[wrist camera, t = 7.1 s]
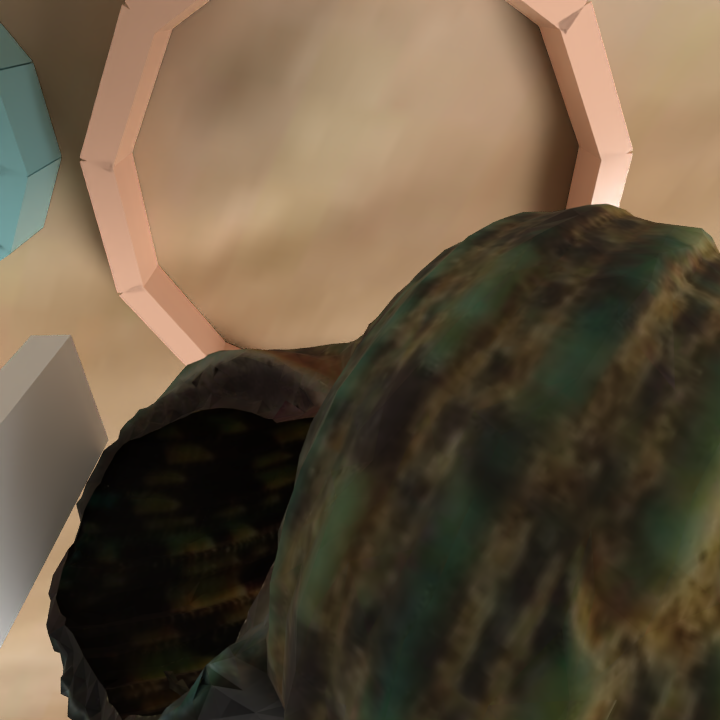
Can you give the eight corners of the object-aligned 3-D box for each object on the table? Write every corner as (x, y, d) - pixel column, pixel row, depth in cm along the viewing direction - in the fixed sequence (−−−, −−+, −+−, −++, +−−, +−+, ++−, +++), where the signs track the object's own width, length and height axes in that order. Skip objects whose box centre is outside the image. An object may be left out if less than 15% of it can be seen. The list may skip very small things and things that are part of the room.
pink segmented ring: (167, 400, 25) (156, 428, 24) (37, -101, 15) (1, -113, 14) (547, 390, 26) (562, 417, 24) (665, -102, 16) (704, -113, 14)
